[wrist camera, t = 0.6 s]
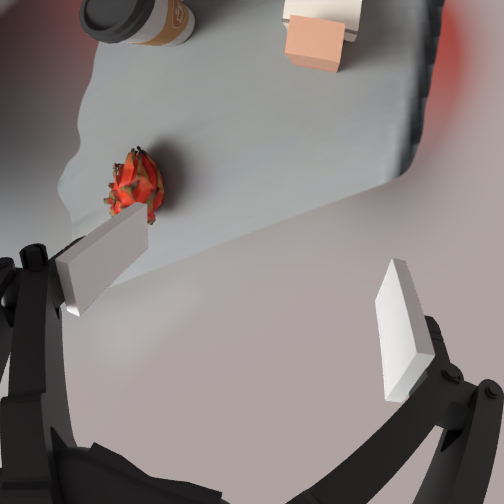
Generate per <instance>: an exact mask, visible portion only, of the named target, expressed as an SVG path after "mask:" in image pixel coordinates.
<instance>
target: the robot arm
mask: <svg viewBox="0 0 504 504" xmlns="http://www.w3.org/2000/svg"><path fill="white" fill-rule="evenodd" d="M147 249H148V228H147V204H144V203H139V202H135V203H133V204H132V205H130V206H129V207H127V208H126V209H124V210H123V211H121V212H120V213H118V214H117V215H115V216H114V217H112V218H111V219H109V220H108V221H107V222H105V223H104V224H102V225H101V226H99V227H98V228H97V229H95V230H94V231H92V232H91V233H90V234H88V235H87V236H83V237H81V238H78V239H76V240H75V241H73V242H72V243H71V244H69V245H68V246H66V247H65V248H64V250H63V249H62V250H61V251H60V252H58V253H57V254H56V255H54V256H53V257H52V258H51V259H49V260H48V255H47V251H46V246H45V245H43V244H39V243H37V244H31V245H28V246H26V247H24V248H23V249H22V250H21V251H20V253H19V254H20V258H21V262H22V266H23V268H16V267H15V264H14V261H13V259H12V258H9V257H2V258H0V382H1V379H2V376H3V373H4V369H5V366H6V363H7V360H8V357H9V355H10V367H9V387H8V389H9V390H8V396H7V397H2V399H1V401H0V441H1V459H2V468H0V504H230V503H228V502H227V501H225V500H223V499H221V497H222V492H219V491H216V490H212V489H208V488H206V487H202V486H199V485H196V484H192V483H190V482H184V481H175V480H168V479H161V478H154V477H150V476H149V475H147V474H146V473H144V472H143V471H141V470H140V469H139V468H137V467H136V466H135V465H133V464H132V463H131V462H129V461H128V460H127V459H126V458H124V457H123V456H121V455H119V454H117V453H115V452H113V451H111V450H109V449H107V448H105V447H103V446H101V445H99V444H97V443H95V442H94V443H93V445H92V446H91V448H86V447H77V444H76V442H75V440H74V437H73V433H72V428H71V421H70V415H69V408H68V400H67V392H66V383H65V372H64V360H63V342H62V311H61V308H60V305H61V304H62V303H63V302H64V301H65V303H66V307H67V310H68V312H70V313H73V314H75V315H77V316H81V315H82V314H83V313H84V312H85V311H86V310H87V309H88V308H89V306H90V305H91V304H92V303H93V302H94V301H95V300H96V299H97V298H98V297H99V296H100V295H101V294H102V293H103V292H104V291H105V290H106V289H107V288H108V287H109V286H110V285H111V284H112V283H113V282H114V281H115V280H116V279H117V278H118V277H119V276H120V275H121V274H122V273H123V272H124V271H125V270H126V269H127V268H128V267H129V266H130V265H131V264H132V263H133V262H134V261H135V260H136V259H137V258H138V257H139V256H140V255H141V254H142V253H143V252H145V251H146V250H147ZM1 302H2V305H1ZM375 304H376V310H377V319H378V327H379V335H380V344H381V354H382V364H383V376H384V389H385V400H388V401H395V402H403V400H404V399H405V398H406V397H407V395H408V394H409V398H408V400H407V401H406V402H405V403H404V404H403V405H402V406H401V407H400V408H399V409H398V411H396V412H395V413H394V415H393V416H392V417H391V418H390V419H389V420H388V421H387V422H386V423H385V424H384V425H383V426H382V427H381V428H380V429H379V430H377V432H375V433H374V434H373V435H372V436H371V437H370V438H369V439H368V440H367V441H366V442H365V443H364V444H363V445H362V446H360V447H359V448H358V449H357V450H356V451H355V452H354V453H353V454H351V455H350V456H349V457H348V458H347V459H346V460H345V461H343V462H342V463H341V464H340V465H339V466H337V467H336V468H335V469H334V470H332V471H331V472H330V473H329V474H328V475H326V476H325V477H324V478H322V479H321V480H320V481H319V482H317V483H316V484H315V485H313V486H312V487H310V488H309V489H307V490H305V491H303V492H302V493H300V494H299V495H297V496H296V497H294V498H293V499H292V500H290V501H289V502H287V503H286V504H367V503H368V502H369V501H370V499H372V498H373V497H374V496H375V494H377V493H378V491H380V490H381V489H382V488H383V486H384V485H385V484H386V483H387V482H388V481H389V480H390V479H391V478H392V477H393V476H394V475H395V474H396V473H397V471H398V470H399V469H400V468H401V467H402V466H403V465H404V463H405V462H406V461H407V460H408V459H409V458H410V456H411V455H412V454H413V453H414V452H415V450H416V449H417V448H418V447H419V445H420V444H421V443H422V442H423V440H424V439H425V438H426V437H427V435H428V434H429V432H430V431H431V430H432V429H433V427H434V426H435V425H437V426H440V427H442V428H444V429H443V432H442V435H441V438H440V440H439V443H438V446H437V448H436V451H435V454H434V456H433V459H432V461H431V464H430V466H429V469H428V471H427V473H426V476H425V478H424V480H423V482H422V485H421V487H420V489H419V491H418V493H417V495H416V497H415V500H414V501H413V503H412V504H483V502H484V498H485V495H486V492H487V488H488V484H489V480H490V477H491V473H492V468H493V464H494V459H495V455H496V450H497V444H498V439H499V433H500V427H501V419H502V412H503V403H504V393H503V391H502V388H501V387H500V386H499V385H498V384H497V383H496V382H494V381H493V380H490V379H485V380H483V381H482V382H481V383H480V384H479V385H478V386H476V385H473V384H471V383H469V382H466V381H464V378H463V374H462V372H461V371H460V369H459V368H458V367H457V366H455V365H454V364H452V363H450V360H449V357H448V353H447V350H446V346H445V343H444V342H443V337H442V335H441V331H440V328H439V325H438V324H437V322H436V321H435V320H434V319H433V317H430V316H425V315H424V314H423V311H422V308H421V304H420V301H419V298H418V295H417V292H416V289H415V286H414V283H413V281H412V277H411V275H410V272H409V269H408V266H407V263H406V261H403V260H399V259H395V258H392V260H391V262H390V265H389V268H388V270H387V273H386V276H385V278H384V281H383V283H382V286H381V288H380V291H379V293H378V296H377V298H376V300H375ZM10 352H11V354H10Z"/></svg>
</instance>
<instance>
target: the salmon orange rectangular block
mask: <svg viewBox="0 0 504 504" xmlns="http://www.w3.org/2000/svg"><path fill="white" fill-rule="evenodd" d="M344 31H345V24H344V23H339V22H334V21H328V20H323V19H317V18H310V17H304V16H296V15H290V21H289V27H288V34H287V40H286V47H285V54H286V55H287V56H288V57H289V59H290V60H291V61H292V62H293V63H294V65H296V66H302V67H308V68H314V69H319V70H324V71H329V72H334V73H337V70H338V67H339V63H340V58H341V51H342V44H343V38H344Z"/></svg>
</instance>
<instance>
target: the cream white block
mask: <svg viewBox="0 0 504 504" xmlns="http://www.w3.org/2000/svg"><path fill="white" fill-rule="evenodd" d="M361 4H362V0H285V6H284V13H283V18H282V22H283V23H284V25H285V27H286V28H287V30H288V27H289V21H290V15H296V16H304V17H310V18H317V19H323V20H328V21H334V22H339V23H344V24H345V31H344V38H343V40H346V41H350V42H354V41H355V39H356V37H357V35H358V28H359V20H360V12H361Z"/></svg>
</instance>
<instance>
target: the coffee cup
mask: <svg viewBox="0 0 504 504" xmlns="http://www.w3.org/2000/svg"><path fill="white" fill-rule="evenodd" d="M79 14H80V23H81V26H82V28H83V29H84V31H85V32H86V33H88V34H89V35H90V36H91V37H92V38H94V39H95V40H98V41H102V42H105V43H109V44H110V43H119V42H123V43H132V44H141V45H152V46H166V47H172V46H176V45H178V44H180V43H182V42H184V41H185V40H186V39H187V38H188V37H189V36H190V35H191V33H192V31H193V29H194V24H195V18H194V15H193V12H192V11H191V10H190V9H189V8H188V7H187V6H185V5H184V4H183V3H182V2H181V1H180V0H83V1H82V4H81V8H80V12H79Z"/></svg>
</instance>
